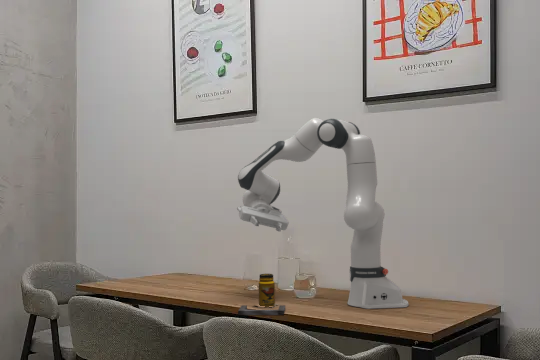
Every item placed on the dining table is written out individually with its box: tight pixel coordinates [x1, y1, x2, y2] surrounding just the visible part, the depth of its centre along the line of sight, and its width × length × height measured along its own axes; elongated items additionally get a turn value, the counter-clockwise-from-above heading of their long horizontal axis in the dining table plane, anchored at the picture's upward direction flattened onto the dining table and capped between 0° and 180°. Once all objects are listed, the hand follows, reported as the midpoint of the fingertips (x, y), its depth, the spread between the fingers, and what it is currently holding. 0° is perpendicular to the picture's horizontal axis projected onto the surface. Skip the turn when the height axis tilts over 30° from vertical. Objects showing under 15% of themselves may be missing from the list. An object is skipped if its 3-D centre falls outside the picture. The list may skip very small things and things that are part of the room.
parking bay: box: [237, 304, 286, 316], centre depth 222 cm, size 16×10×2 cm, turn 85°
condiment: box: [258, 273, 276, 307], centre depth 234 cm, size 7×8×12 cm
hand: (268, 227), depth 240 cm, fingers open, 8 cm apart
